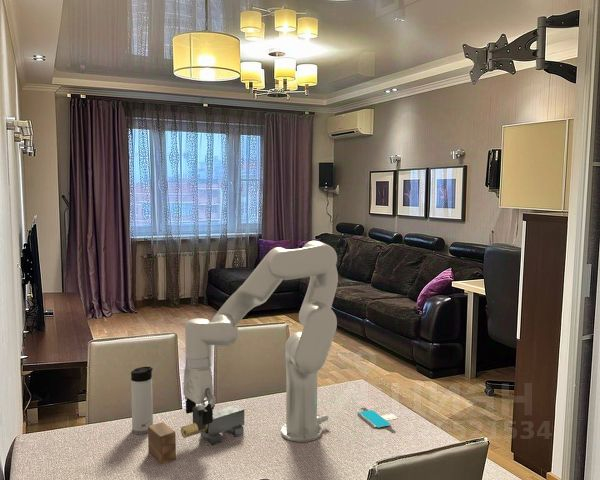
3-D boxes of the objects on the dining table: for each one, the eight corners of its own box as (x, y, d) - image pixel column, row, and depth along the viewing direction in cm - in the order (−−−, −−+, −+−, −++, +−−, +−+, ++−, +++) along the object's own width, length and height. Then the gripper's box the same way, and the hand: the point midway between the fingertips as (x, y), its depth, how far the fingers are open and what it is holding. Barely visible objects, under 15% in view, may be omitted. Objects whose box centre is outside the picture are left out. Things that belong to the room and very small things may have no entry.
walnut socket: (163, 448, 155) (162, 422, 154) (175, 459, 149) (175, 431, 148) (148, 453, 152) (147, 426, 152) (160, 464, 146) (160, 436, 146)
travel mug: (148, 435, 163) (146, 372, 161) (128, 433, 165) (126, 370, 163) (157, 426, 169) (156, 365, 167) (138, 424, 171) (137, 363, 169)
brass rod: (232, 418, 168) (232, 395, 167) (239, 422, 165) (238, 398, 164) (180, 435, 156) (180, 410, 155) (186, 439, 153) (186, 414, 153)
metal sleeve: (233, 426, 170) (233, 403, 170) (246, 433, 165) (246, 410, 164) (199, 437, 162) (198, 413, 162) (210, 446, 157) (210, 421, 156)
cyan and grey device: (412, 430, 169) (412, 425, 169) (379, 437, 165) (379, 431, 164) (379, 406, 187) (379, 402, 187) (349, 411, 183) (349, 407, 183)
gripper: (173, 356, 160) (173, 411, 162) (202, 372, 147) (202, 431, 149) (195, 351, 165) (195, 405, 167) (225, 366, 152) (225, 424, 153)
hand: (199, 417), depth 158 cm, fingers open, 9 cm apart
